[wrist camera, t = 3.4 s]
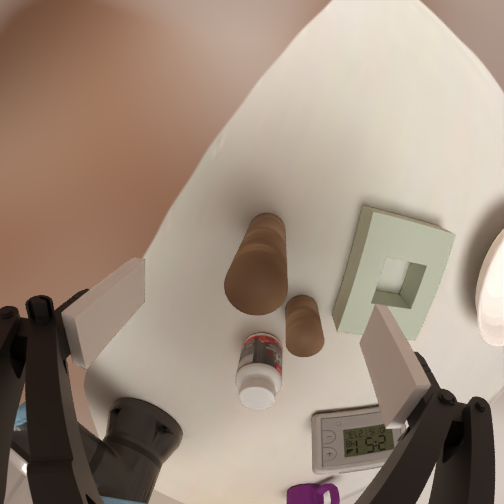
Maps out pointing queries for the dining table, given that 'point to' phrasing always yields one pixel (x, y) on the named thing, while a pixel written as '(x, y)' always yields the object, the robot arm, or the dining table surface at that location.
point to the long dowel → (259, 268)
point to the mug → (312, 494)
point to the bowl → (491, 294)
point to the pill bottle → (259, 371)
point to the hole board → (371, 264)
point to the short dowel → (303, 327)
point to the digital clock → (351, 440)
